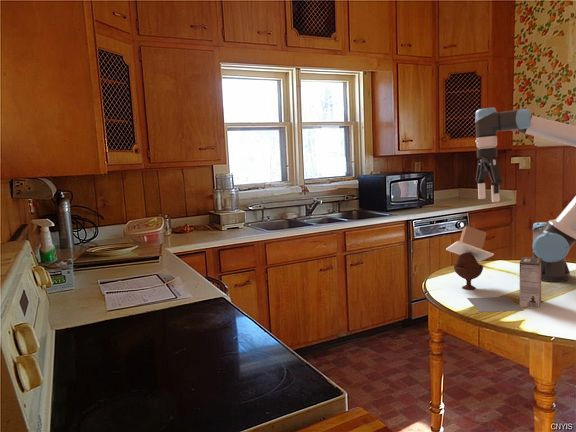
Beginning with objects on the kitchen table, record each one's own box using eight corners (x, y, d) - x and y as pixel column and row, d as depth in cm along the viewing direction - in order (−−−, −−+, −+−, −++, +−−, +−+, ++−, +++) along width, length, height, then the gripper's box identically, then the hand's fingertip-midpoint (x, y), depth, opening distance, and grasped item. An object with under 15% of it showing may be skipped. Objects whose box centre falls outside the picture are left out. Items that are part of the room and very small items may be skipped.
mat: (507, 297, 161) (507, 296, 161) (523, 311, 147) (523, 310, 147) (466, 299, 163) (466, 297, 162) (479, 312, 148) (479, 311, 148)
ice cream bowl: (487, 293, 167) (486, 255, 165) (456, 293, 170) (455, 255, 168) (480, 285, 178) (480, 249, 176) (451, 285, 180) (451, 249, 178)
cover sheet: (479, 261, 178) (485, 240, 180) (493, 255, 164) (499, 232, 167) (445, 249, 180) (452, 228, 182) (457, 242, 166) (463, 219, 169)
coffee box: (521, 299, 158) (521, 256, 156) (541, 301, 155) (541, 257, 153) (519, 307, 150) (519, 262, 148) (540, 310, 147) (540, 263, 145)
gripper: (466, 149, 187) (468, 198, 190) (489, 147, 162) (491, 204, 165) (483, 147, 187) (485, 196, 189) (510, 145, 162) (512, 202, 164)
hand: (488, 200), depth 177 cm, fingers open, 13 cm apart
